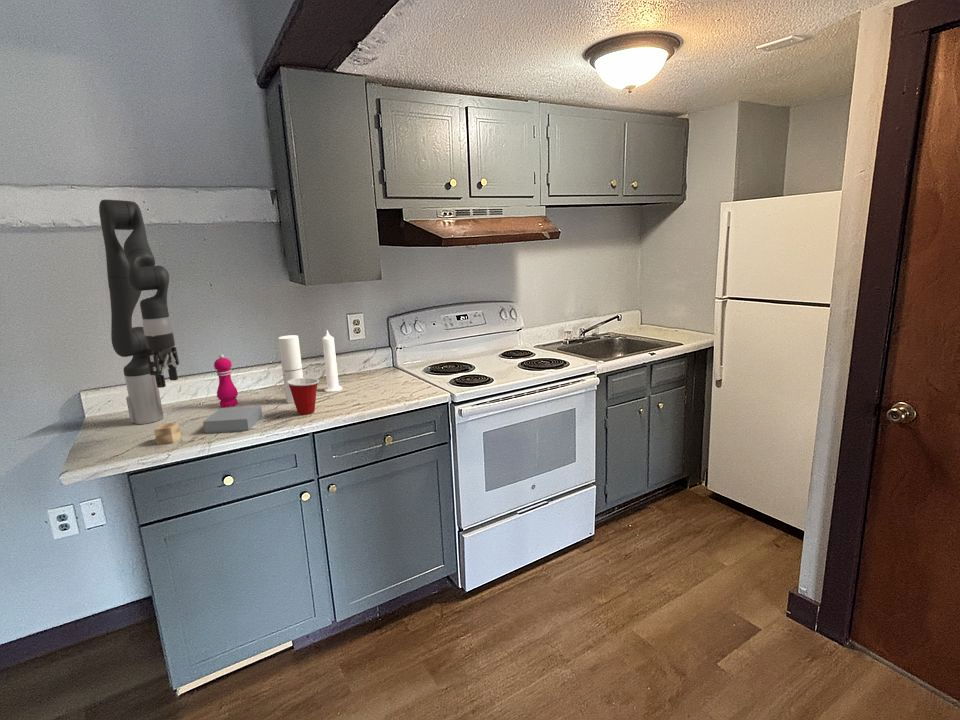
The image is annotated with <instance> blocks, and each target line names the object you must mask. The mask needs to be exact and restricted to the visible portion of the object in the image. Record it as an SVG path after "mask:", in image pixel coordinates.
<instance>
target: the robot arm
mask: <svg viewBox="0 0 960 720" xmlns="http://www.w3.org/2000/svg"><path fill="white" fill-rule="evenodd" d="M98 213H99V218H100V219H99V220H100V225H101V226H100V227H101V232H102V237H103V242H104V249H105V258H106V260H105V261H106V271H107V272H106V273H107V274H106V275H107V283H108V290H109V299H110V311H111V312H110V313H111V321H110V322H111V326H110V327H111V329H110V330H111V333H110V335H111V336H110V337H111V344H112V348H113V351H114V352H115V353H116V355H118V356H119V357H122V358H128V357H132V358H131V360H130V361H129V362H128V363H127V364H126V365H125V366H124V367H123V375H124V379H125V384H126V390H127V396H126V397H125V400H126V404H127V406H126V407H127V411H128V414H129V420H130V424H136V425H145V424H151V423H155V422H158V421H160V420H162V419H164V418H165V416H164V410H163V406H162V399H161V395H160V389H159V388H165V387H167V386H166V379H165V375H164V372H165V369H167V372H168V377H169V380H170V381H171V382H172V381H177V380H178V379H179V377H178V371H177V368H178V366H179V365H180V359H179V356H178V350H177V347H176V346H175V345H176V343H175V337H174V331H173V326H172V321H171V318H170V313H169V308H168V292H169V291H168V289H169V285H170V284H169V283H170V273H169V271H168V270H167V269H166V268H165V267H164V266H162V265H156V259H155V257H154V254H153V252H152V249H151V248H150V247H151V246H150V245H149V241H148V236H147V230H146V227H145V221H144V218H143V214H142V210H141V208H140V206H139V205H138V204H137V202H135V201H131V200H119V199H102V200H100V201H99V205H98ZM116 230H117V231H119V230H121V231H123V230H125V231H127V230H128V231H131V233H130V234H129V235H128V237H127V238H126V239H125V241H124V244H123V246H122V245H121V243H120V241H119V240H118V238H117V234H116V232H115V231H116ZM153 290H154V291H155V290H156V293H155V294H154V295H153V296H150V297H147V298H144V299H141V300H140V297H141V295H142V292H143V291H153ZM139 300H140V302H139ZM138 302H139V307H140V311H141V317H142V326H135V327H133V323H132V322H133V321H132V320H133V318H132V317H133V313H134V311H135V308H136V306H137V304H138Z"/></svg>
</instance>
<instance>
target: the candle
mask: <svg viewBox="0 0 960 720" xmlns="http://www.w3.org/2000/svg"><path fill="white" fill-rule="evenodd" d="M321 339H322V349H323V359H324V368H325V376H326V384H327V387H324V392H325V393H337V392H340V391H342V390H343V386H341V385H340V384H339V375H338V366H337V365H338V364H337V355H336V346H335V337H333V336H332V335H331V334H330V333H329V330H328V329H326V332H325V335H324V336H323V337H322V338H321Z"/></svg>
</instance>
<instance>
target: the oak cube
mask: <svg viewBox="0 0 960 720" xmlns="http://www.w3.org/2000/svg"><path fill="white" fill-rule="evenodd" d="M153 430H154V435H155V437H154V438H155V441H156V445H168V444H174V443H176V442H177V441H178V440H179V439H181V438H182V437H181V430H180V424H179V422H170V423H162V424H160V425H158V426H157V427H156V428H154V429H153Z"/></svg>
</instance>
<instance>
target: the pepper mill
mask: <svg viewBox="0 0 960 720" xmlns="http://www.w3.org/2000/svg"><path fill="white" fill-rule="evenodd" d="M218 357H219V358H217V359H216V360H215V361H214V362H213V363H214V364H213V367H214V369H215V370H216V375H217V377H218V381H219V382H218V386H217V387H218V388H217V391H216V397H217V398H218V400H220V401H219V407H220V408H233V407H235V406H237V405H238V404H239V402H238V399H237V397H238V394H239V393H238V389H237V387H236V386H235V384H234V383H233V381H232V370H231V368H232V366H233V363H232V361H231V360H230V359H229V358H227V357H225V355H224V354H223V353H221V354H219V355H218Z"/></svg>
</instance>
